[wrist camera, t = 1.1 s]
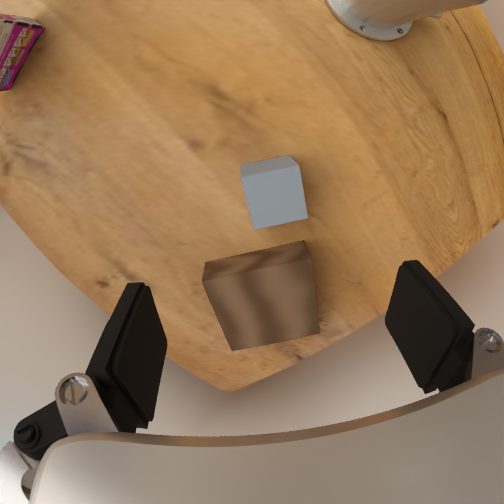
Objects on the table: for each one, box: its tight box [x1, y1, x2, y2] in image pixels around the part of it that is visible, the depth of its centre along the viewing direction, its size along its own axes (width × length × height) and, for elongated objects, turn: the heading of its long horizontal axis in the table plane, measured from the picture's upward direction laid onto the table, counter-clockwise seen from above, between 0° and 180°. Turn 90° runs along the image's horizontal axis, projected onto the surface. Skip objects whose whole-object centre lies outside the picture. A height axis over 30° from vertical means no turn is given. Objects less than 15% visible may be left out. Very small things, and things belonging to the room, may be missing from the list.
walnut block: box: [202, 240, 320, 351], centre depth 40 cm, size 14×14×5 cm
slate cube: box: [241, 155, 308, 230], centre depth 31 cm, size 6×6×6 cm
